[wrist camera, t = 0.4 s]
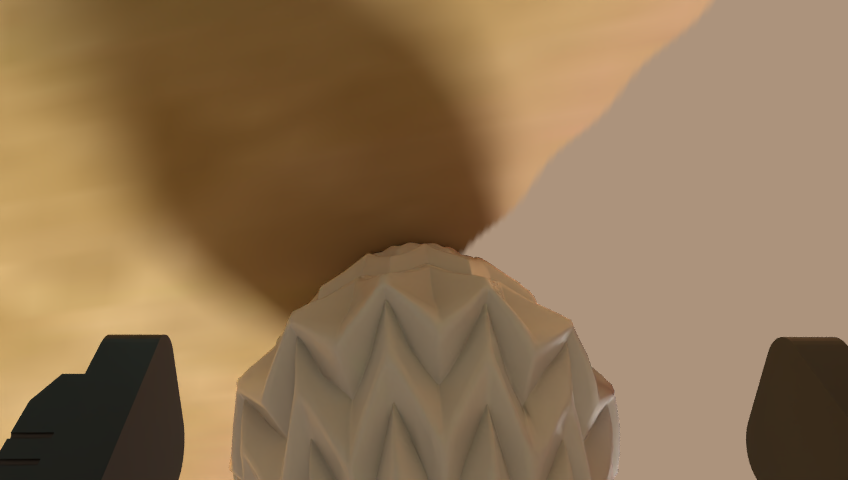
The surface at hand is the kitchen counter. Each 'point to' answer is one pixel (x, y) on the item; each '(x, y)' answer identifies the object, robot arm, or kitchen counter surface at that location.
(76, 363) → the kitchen counter surface
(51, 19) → the kitchen counter surface
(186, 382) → the kitchen counter surface
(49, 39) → the kitchen counter surface
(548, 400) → the vase
